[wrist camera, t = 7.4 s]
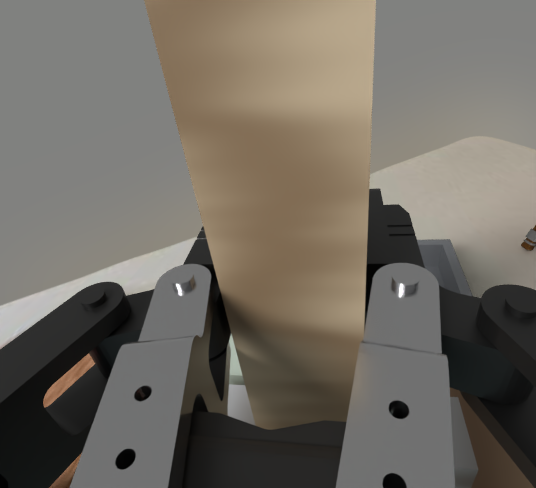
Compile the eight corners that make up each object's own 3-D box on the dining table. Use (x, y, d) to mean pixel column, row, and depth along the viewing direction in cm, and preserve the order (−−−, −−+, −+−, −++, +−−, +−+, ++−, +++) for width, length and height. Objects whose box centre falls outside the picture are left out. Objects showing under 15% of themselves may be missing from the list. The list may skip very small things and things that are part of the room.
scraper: (443, 433, 15) (588, -89, 6) (463, 520, 13) (749, -121, 4) (207, 416, 17) (44, -4, 8) (186, 489, 15) (-81, 11, 6)
